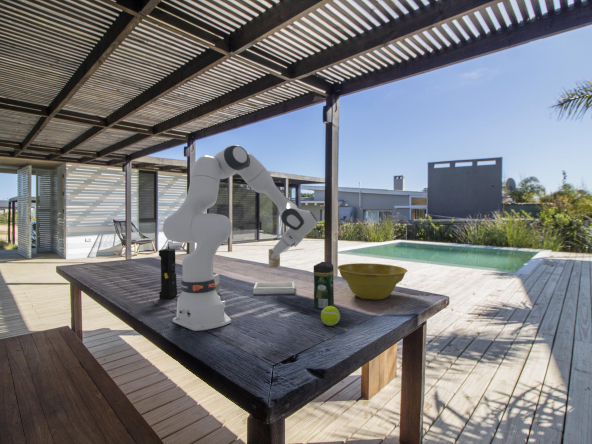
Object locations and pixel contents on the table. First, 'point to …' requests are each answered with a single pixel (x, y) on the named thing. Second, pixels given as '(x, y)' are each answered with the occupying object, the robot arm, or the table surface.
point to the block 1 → (216, 282)
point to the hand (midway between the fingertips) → (273, 257)
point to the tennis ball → (330, 315)
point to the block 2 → (274, 260)
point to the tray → (274, 288)
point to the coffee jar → (323, 285)
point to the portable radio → (168, 274)
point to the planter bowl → (371, 279)
